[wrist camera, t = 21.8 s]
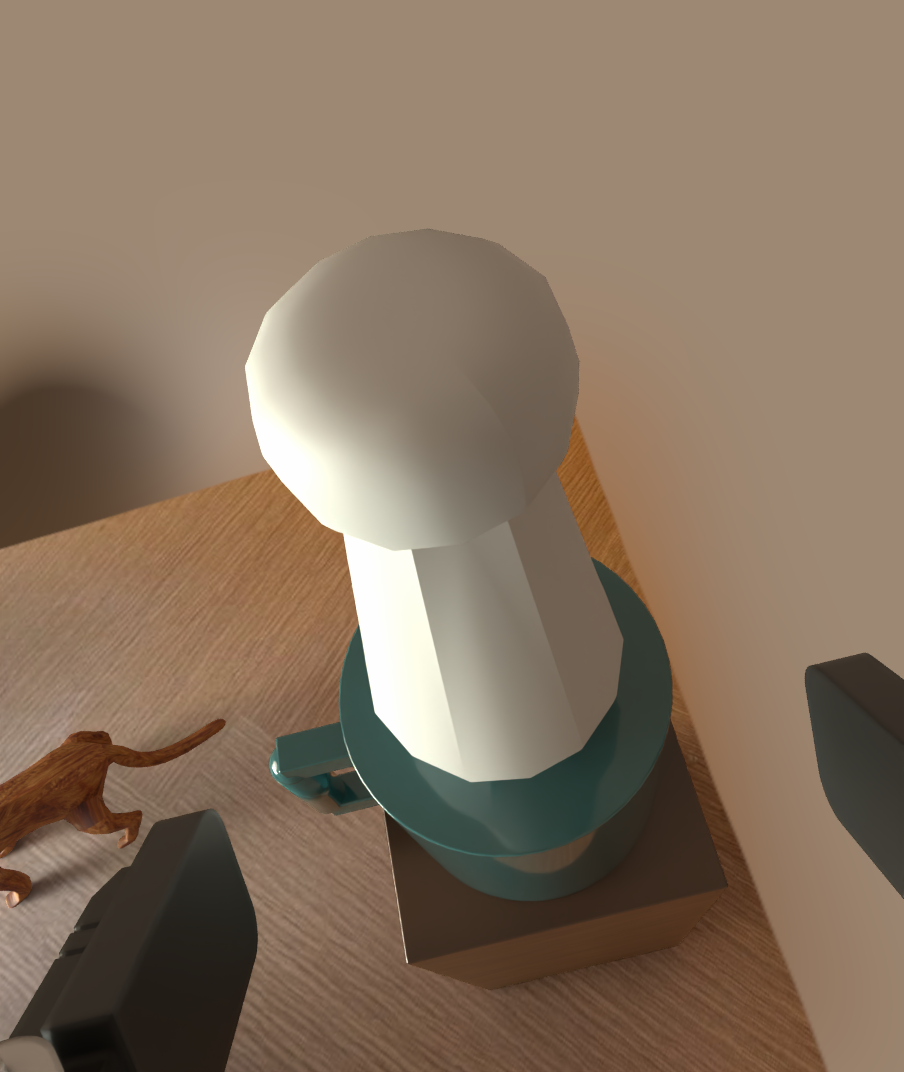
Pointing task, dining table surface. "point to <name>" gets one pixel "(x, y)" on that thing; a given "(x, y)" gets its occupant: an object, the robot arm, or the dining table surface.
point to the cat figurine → (75, 793)
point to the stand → (564, 900)
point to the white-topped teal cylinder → (504, 805)
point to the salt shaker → (445, 492)
